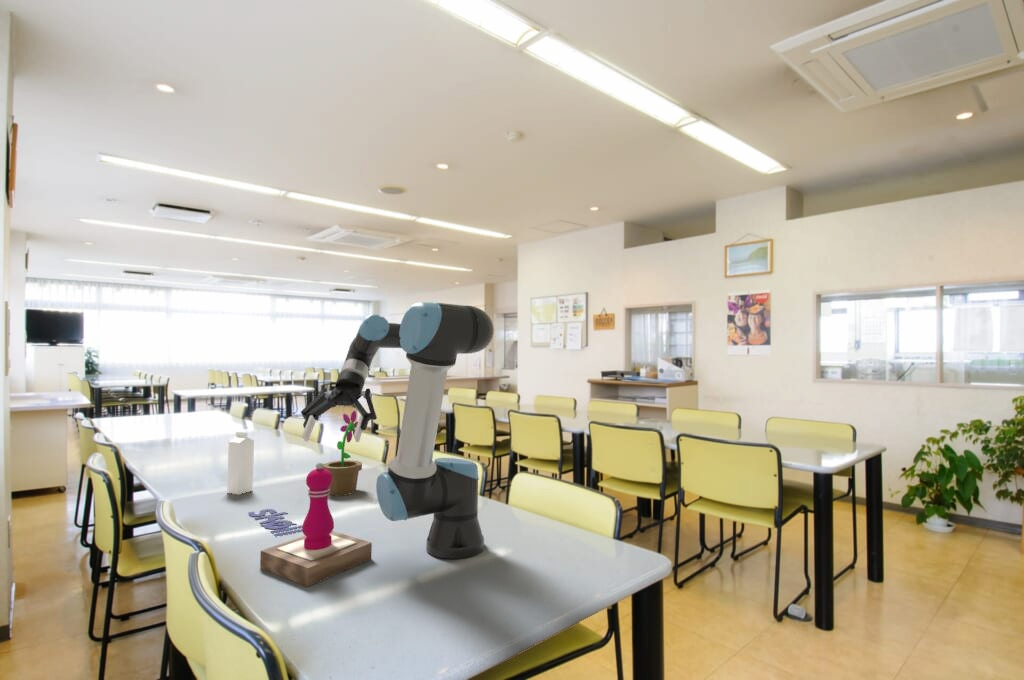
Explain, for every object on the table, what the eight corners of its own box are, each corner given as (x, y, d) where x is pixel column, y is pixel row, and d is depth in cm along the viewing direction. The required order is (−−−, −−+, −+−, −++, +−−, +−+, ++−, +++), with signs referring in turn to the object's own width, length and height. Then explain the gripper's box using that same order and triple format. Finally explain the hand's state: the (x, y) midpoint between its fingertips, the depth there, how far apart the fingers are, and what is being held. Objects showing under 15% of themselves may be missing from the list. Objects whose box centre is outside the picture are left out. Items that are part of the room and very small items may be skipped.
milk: (241, 489, 187) (243, 430, 188) (252, 491, 185) (254, 431, 186) (226, 493, 181) (228, 432, 182) (237, 495, 179) (240, 433, 180)
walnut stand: (371, 558, 123) (371, 541, 123) (307, 586, 108) (308, 566, 108) (324, 544, 132) (325, 527, 132) (260, 567, 117) (260, 549, 117)
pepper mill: (337, 539, 124) (339, 459, 125) (327, 550, 117) (329, 465, 117) (308, 539, 124) (310, 459, 124) (296, 551, 116) (298, 465, 117)
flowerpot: (370, 490, 187) (371, 410, 188) (339, 499, 175) (341, 414, 176) (344, 485, 194) (345, 408, 195) (312, 493, 182) (314, 411, 183)
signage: (245, 512, 158) (278, 506, 164) (245, 514, 158) (278, 508, 164) (274, 536, 137) (311, 528, 144) (274, 538, 137) (311, 530, 144)
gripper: (396, 387, 146) (380, 447, 131) (313, 386, 147) (288, 446, 131) (392, 370, 141) (374, 430, 126) (306, 369, 142) (278, 429, 126)
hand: (330, 438), depth 128 cm, fingers open, 13 cm apart
